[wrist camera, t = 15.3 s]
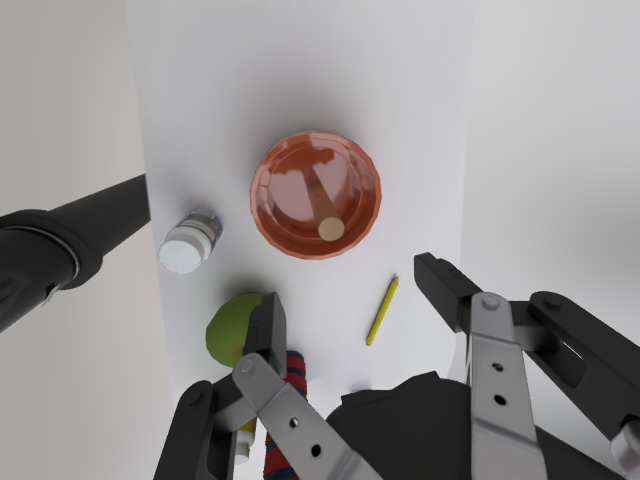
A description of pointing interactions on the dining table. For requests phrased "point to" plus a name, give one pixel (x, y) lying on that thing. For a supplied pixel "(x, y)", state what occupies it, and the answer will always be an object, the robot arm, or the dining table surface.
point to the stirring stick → (324, 213)
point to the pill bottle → (190, 241)
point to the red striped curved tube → (277, 468)
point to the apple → (231, 328)
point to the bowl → (293, 201)
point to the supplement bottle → (245, 441)
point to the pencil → (382, 311)
